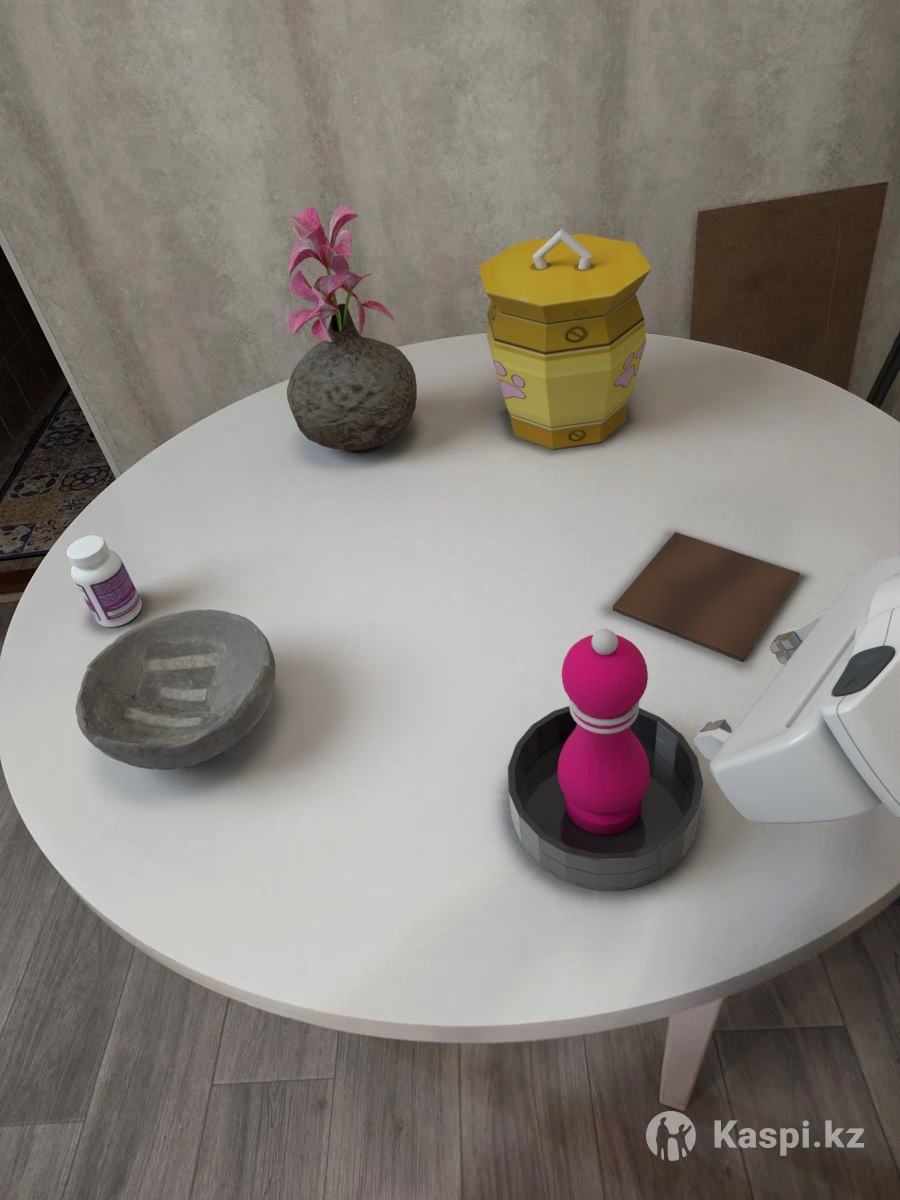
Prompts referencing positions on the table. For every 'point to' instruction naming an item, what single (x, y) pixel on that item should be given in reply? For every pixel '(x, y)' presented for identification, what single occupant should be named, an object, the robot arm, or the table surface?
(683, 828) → the pan
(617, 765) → the pepper mill
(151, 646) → the bowl
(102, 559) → the pill bottle
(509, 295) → the container
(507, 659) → the table surface
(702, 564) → the trivet
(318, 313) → the vase
